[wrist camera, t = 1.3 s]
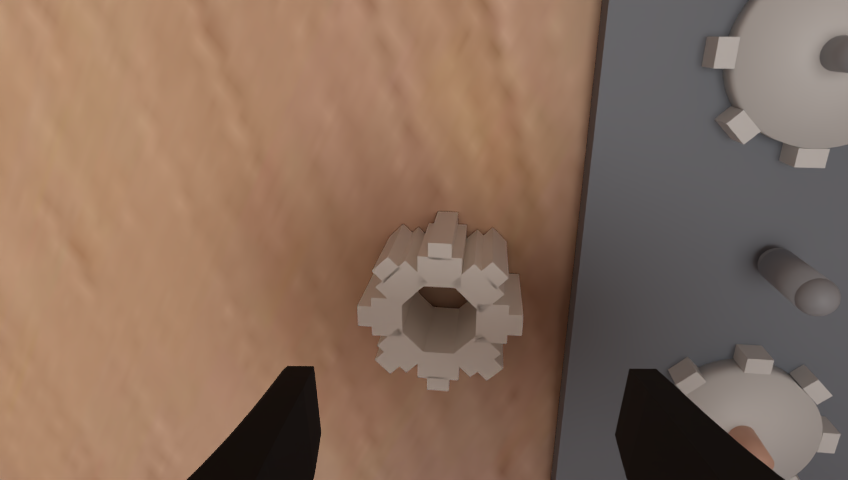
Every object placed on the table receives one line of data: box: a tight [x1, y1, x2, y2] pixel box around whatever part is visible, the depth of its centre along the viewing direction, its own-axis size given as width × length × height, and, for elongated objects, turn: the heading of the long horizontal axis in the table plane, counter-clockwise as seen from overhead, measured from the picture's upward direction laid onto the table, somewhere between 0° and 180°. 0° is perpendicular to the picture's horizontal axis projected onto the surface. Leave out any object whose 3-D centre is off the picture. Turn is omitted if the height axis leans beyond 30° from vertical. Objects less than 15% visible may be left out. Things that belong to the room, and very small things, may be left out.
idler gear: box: [357, 211, 523, 391], centre depth 21 cm, size 6×6×4 cm
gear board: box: [551, 0, 848, 480], centre depth 18 cm, size 24×13×5 cm, turn 0°
